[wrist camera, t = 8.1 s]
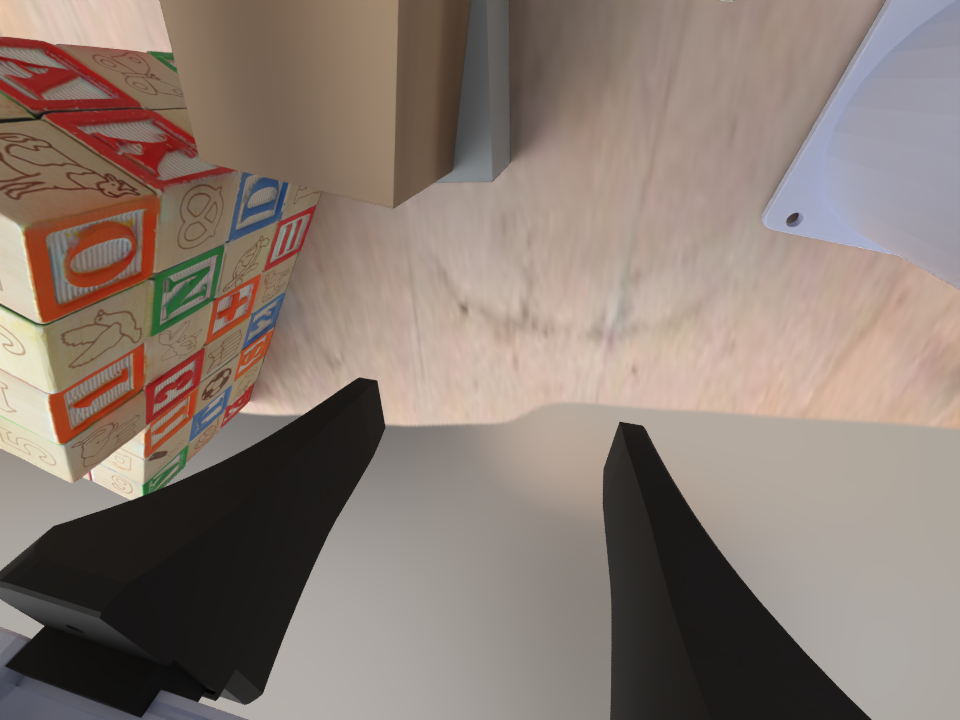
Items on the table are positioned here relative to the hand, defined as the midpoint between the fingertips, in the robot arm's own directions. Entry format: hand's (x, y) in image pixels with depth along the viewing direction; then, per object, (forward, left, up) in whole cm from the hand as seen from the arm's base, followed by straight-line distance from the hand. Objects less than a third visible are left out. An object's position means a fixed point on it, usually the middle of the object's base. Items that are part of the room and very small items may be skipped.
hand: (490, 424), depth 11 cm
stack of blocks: (+17, +4, -10) cm, 20 cm away
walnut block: (+6, -8, -6) cm, 11 cm away
